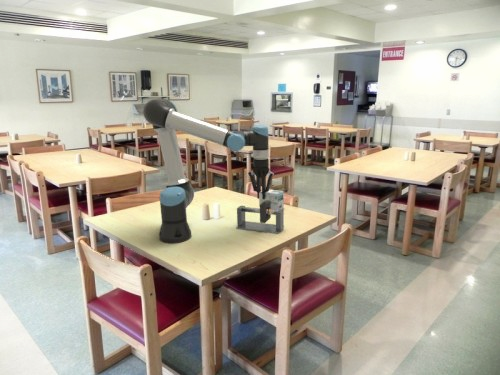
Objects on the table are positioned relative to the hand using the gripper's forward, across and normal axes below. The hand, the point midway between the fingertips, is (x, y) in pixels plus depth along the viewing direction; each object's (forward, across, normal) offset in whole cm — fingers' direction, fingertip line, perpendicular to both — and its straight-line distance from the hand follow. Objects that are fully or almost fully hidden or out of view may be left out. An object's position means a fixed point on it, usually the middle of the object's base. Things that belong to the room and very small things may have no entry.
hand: (261, 205), depth 185 cm
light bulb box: (+12, -5, +33) cm, 35 cm away
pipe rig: (+12, -1, 0) cm, 12 cm away
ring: (+8, +2, 0) cm, 8 cm away
